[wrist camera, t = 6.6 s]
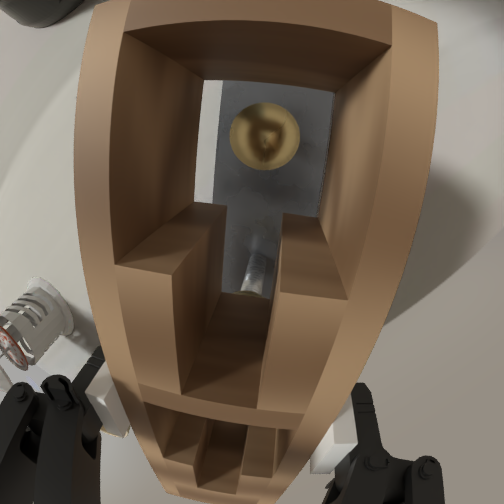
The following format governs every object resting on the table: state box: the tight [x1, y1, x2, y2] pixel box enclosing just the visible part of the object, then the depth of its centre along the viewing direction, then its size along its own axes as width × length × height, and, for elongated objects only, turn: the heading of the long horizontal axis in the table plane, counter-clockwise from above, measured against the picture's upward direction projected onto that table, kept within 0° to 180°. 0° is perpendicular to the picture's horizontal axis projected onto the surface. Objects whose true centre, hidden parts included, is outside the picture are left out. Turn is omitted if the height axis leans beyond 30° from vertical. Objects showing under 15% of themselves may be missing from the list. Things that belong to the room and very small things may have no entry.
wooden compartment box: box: [74, 0, 439, 504], centre depth 11 cm, size 24×7×6 cm, turn 174°
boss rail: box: [213, 80, 334, 299], centre depth 18 cm, size 26×8×10 cm, turn 174°
